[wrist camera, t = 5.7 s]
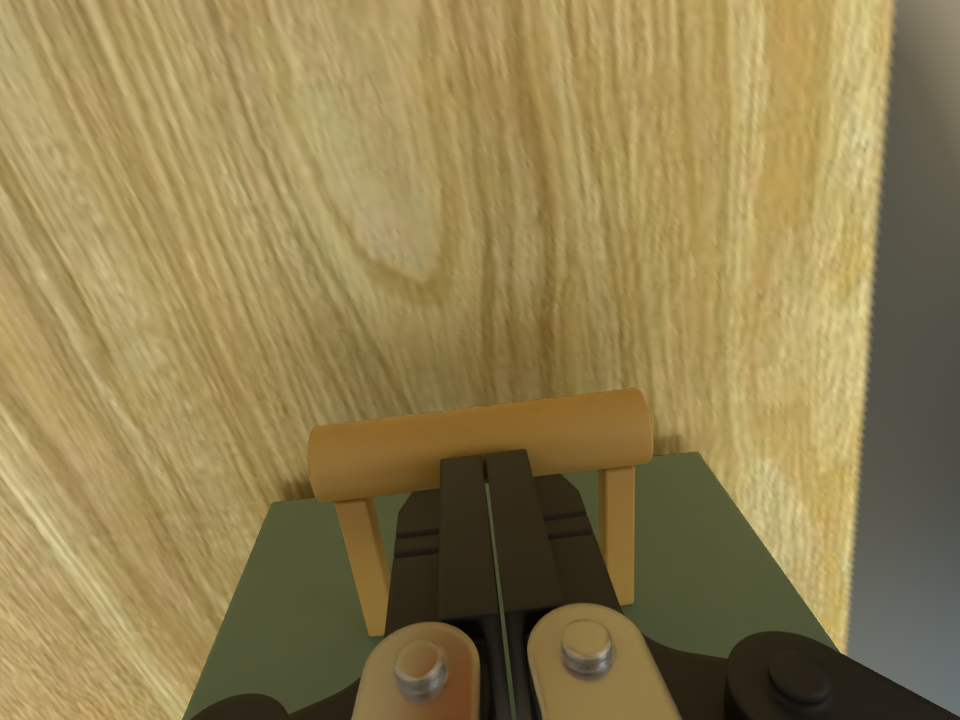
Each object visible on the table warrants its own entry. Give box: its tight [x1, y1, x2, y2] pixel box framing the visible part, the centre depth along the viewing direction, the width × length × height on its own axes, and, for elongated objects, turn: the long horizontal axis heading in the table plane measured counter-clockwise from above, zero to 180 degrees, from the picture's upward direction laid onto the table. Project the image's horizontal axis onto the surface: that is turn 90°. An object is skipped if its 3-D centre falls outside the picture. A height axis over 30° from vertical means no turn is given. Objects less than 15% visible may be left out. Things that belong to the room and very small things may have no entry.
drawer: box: [182, 388, 840, 720], centre depth 15 cm, size 18×12×8 cm
